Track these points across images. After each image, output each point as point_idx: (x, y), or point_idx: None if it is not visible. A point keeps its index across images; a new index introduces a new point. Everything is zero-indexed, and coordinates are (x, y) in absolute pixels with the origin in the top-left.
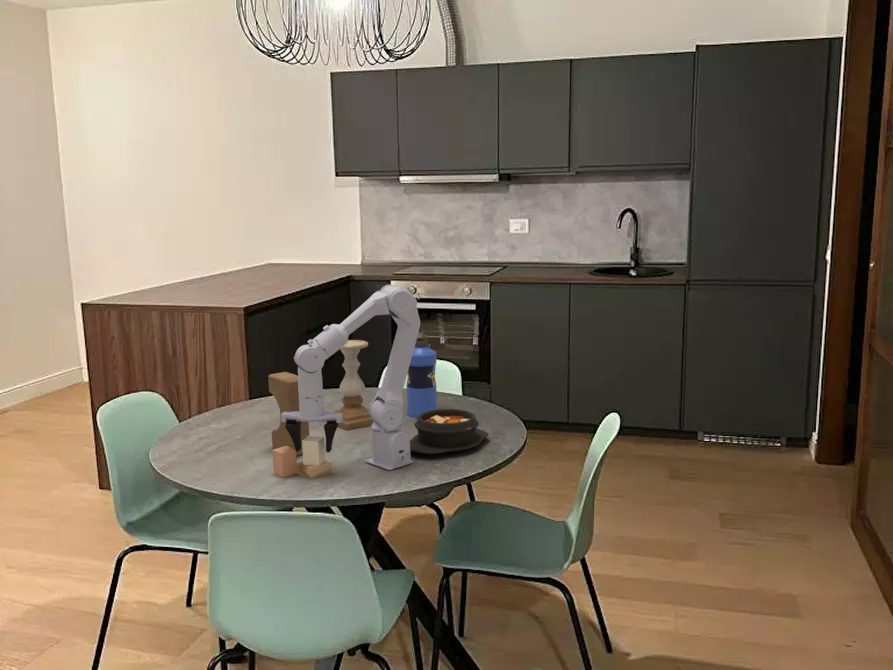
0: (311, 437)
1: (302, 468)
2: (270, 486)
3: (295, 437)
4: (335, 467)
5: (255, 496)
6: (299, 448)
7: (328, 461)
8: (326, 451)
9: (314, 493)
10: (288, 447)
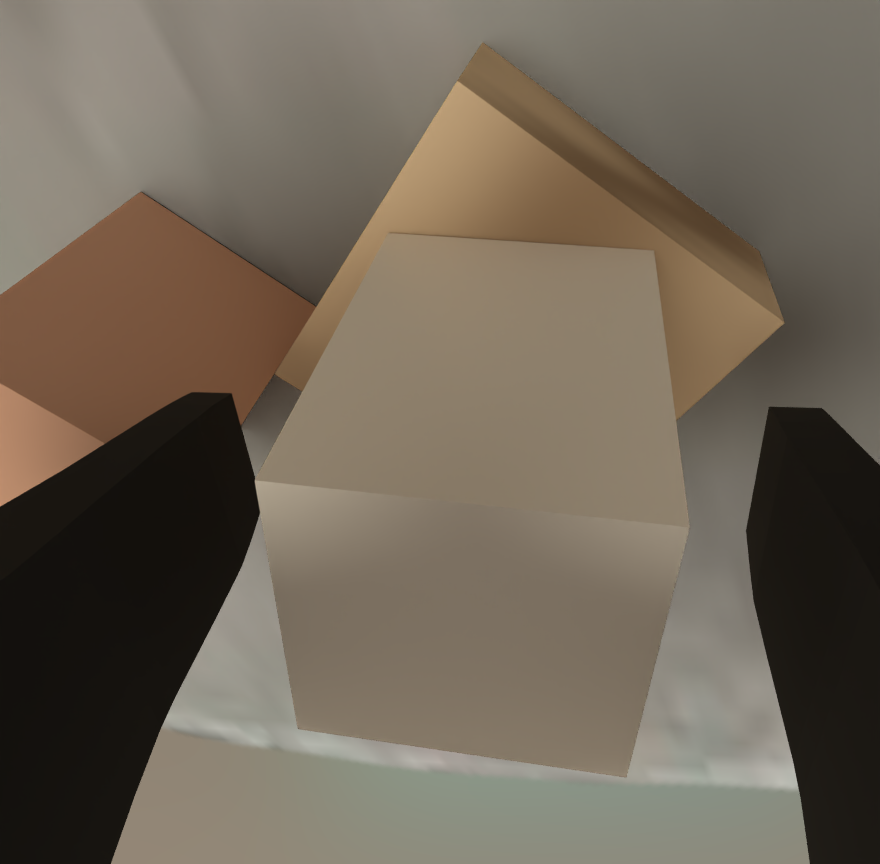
0: (389, 591)
1: None
2: (256, 601)
3: (143, 753)
4: (778, 14)
5: (263, 733)
6: (236, 479)
7: (722, 294)
8: (750, 543)
9: (676, 716)
10: (23, 416)
